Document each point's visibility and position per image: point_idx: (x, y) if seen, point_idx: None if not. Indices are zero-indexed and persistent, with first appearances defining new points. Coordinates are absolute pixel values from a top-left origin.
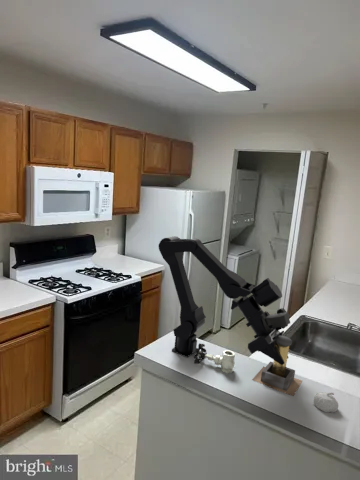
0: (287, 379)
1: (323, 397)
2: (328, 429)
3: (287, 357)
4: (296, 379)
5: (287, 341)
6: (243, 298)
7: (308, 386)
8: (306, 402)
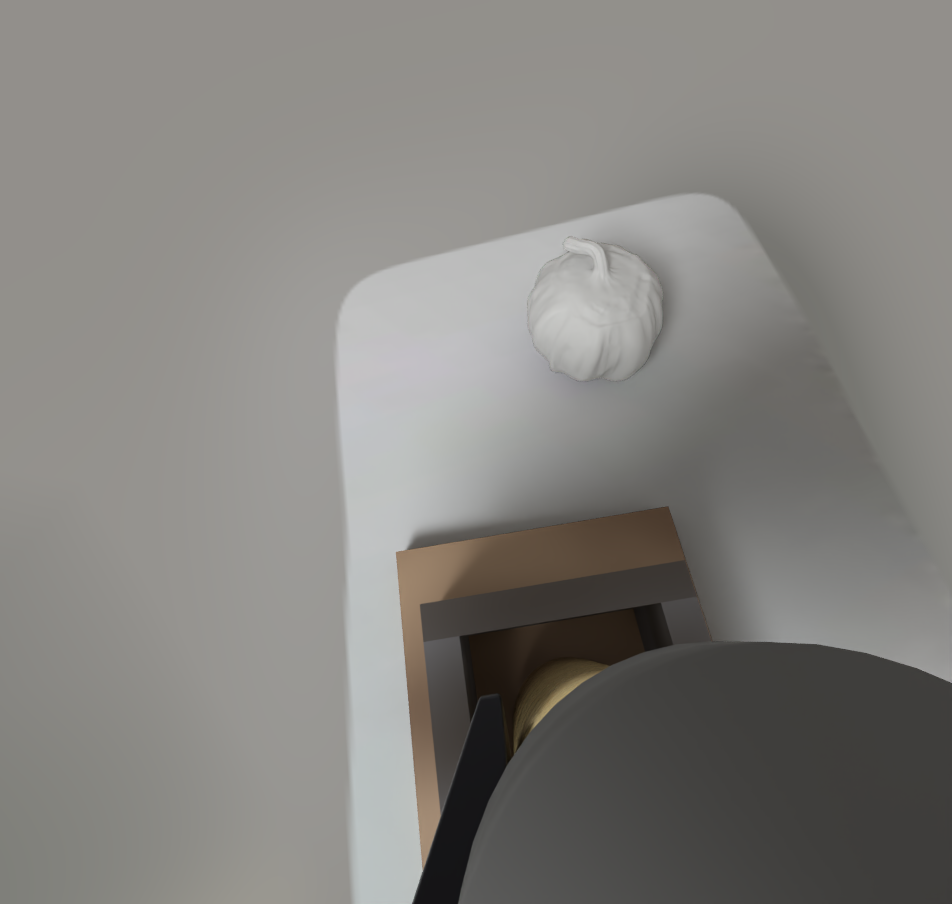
0: (662, 579)
1: (644, 284)
2: (730, 278)
3: (501, 706)
4: (415, 594)
5: (908, 801)
6: None
7: (398, 508)
8: (604, 440)
